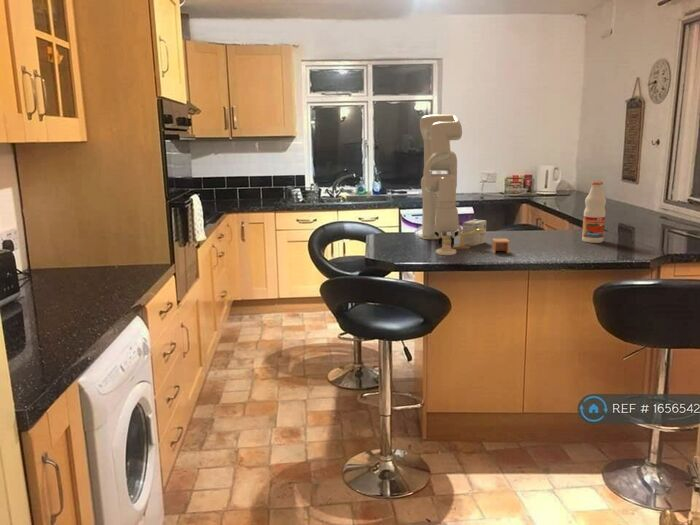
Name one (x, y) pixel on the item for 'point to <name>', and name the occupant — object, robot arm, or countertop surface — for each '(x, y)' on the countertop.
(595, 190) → the fruit juice
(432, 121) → the robot arm
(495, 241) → the reddish brown box
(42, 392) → the countertop surface
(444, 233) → the balance
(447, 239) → the block
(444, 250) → the dish
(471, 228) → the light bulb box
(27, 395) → the countertop surface
